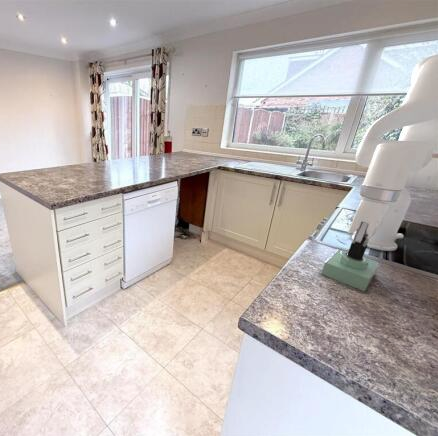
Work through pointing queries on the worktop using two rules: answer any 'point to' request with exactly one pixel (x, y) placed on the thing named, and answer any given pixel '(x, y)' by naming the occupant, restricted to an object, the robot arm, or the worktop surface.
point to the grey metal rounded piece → (354, 258)
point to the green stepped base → (350, 270)
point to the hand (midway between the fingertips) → (354, 256)
